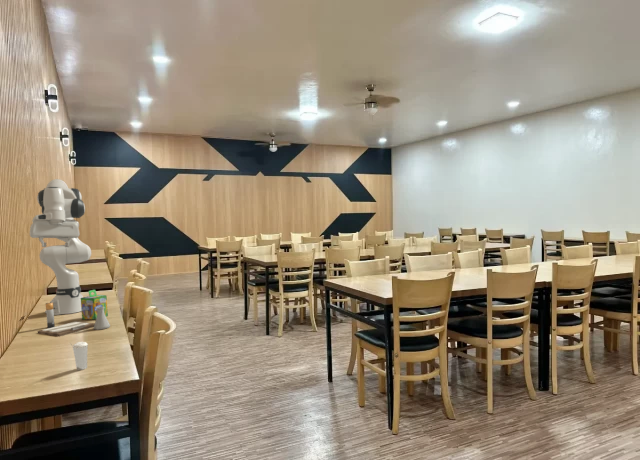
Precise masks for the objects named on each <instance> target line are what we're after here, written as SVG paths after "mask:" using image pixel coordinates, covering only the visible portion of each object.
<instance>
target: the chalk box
mask: <svg viewBox="0 0 640 460" xmlns="http://www.w3.org/2000/svg"><path fill="white" fill-rule="evenodd" d="M92 293H93V294H92ZM80 299H81V309H82V311H81V319H82V320H95V321H96V318H97V313H98V311H97V308H98V307H104V313H105V316H106V317H108V316H109V315H108V300H107V295H103V294H97V291H96V289H92V290H88V296H83V298H80Z"/></svg>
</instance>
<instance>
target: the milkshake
mask: <svg viewBox="0 0 640 460" xmlns="http://www.w3.org/2000/svg"><path fill="white" fill-rule="evenodd" d="M70 345H71V346H72V351H73V354H74V355H73V356H74V360H75V367H76V370H77V371H83V370H86V369H87V368H88V351H89V350H88V345H89V343H87V342H86V341H78V342H76V343H74V344H73V345H72V343H70Z"/></svg>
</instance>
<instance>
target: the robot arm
mask: <svg viewBox="0 0 640 460" xmlns="http://www.w3.org/2000/svg"><path fill="white" fill-rule="evenodd" d="M82 198H83V196H82V193H81V192H80V189H78V188H75V187H71V188H69V186H68V184H67V183H66V182H65V181H64V180H62V179H60V178H55V179H52V180H50V181H48V183H47V185H46V187H44V188H43V189H42V190H40V191H39V192H38V193H37V197H36V200H37V203H38V204H39V207H41V214H37V215H35V216H34V217H33V218H32V220H31V222H32V224H30V227H29V236H30V238H32V239H33V238H35V239H36V238H37V239H38V240H39V242H40V243H41V248H42V249H40V252H39V260H40V262H41V263H42V264H43V265H45V266H47V267H48V268H50V269H51V270H52V271H53V273H54V275H55V279H56V284H57V285H56V286H57V288H56V290H55V292H56V293H55V296H54V297H53V298H52V299H51V301H49V303H53V311H54V316H59V315H67V314H69V315H70V314H74V313H79V312H82V309H81V299H80V298H83V297H84V296H83V294H81V292H82V289H81V286H80V275H79V273H78V271H76V270H74V269H70V268H68V267H66V265H68V264H75V263H76V264H77V263H82V262H86V261H89V260H90V258H91V257H92V249H91V247H90V246H89V245H88V244H86V243H85V242H83V241H82V240H80V239H79V237H80V229H79V228H80V223H79V221H77V220H76V219H80V218H81V217H83V216H84V215H85V212H86V206H85V205H86V204H85V203H84V201H83V200H82ZM44 239H57V240H59V241H63V242H64V244H60V245H59V244H58V245H49V246H47V242H45V241H44ZM44 313H45V314H46V310H45V311H44Z"/></svg>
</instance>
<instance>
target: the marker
mask: <svg viewBox="0 0 640 460" xmlns="http://www.w3.org/2000/svg"><path fill="white" fill-rule="evenodd" d="M45 311H46V313H45V314H46V327H47V329H48V328H52V327H56V325H55V324H56V323H55V315H54V311H53V303H50V302H46V303H45Z"/></svg>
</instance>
